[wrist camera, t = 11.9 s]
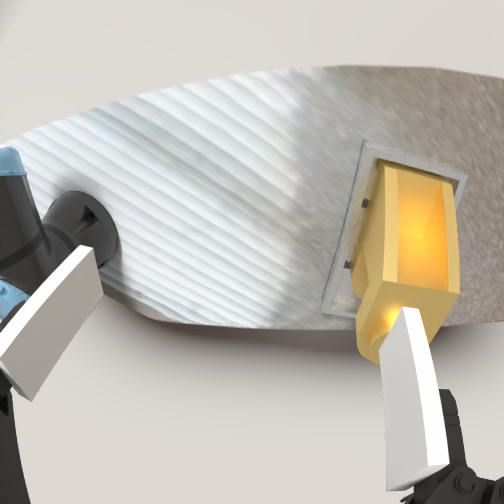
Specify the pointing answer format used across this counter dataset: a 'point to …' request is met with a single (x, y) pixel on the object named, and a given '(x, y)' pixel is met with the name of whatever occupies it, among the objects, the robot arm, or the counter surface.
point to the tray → (339, 281)
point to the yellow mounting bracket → (405, 254)
